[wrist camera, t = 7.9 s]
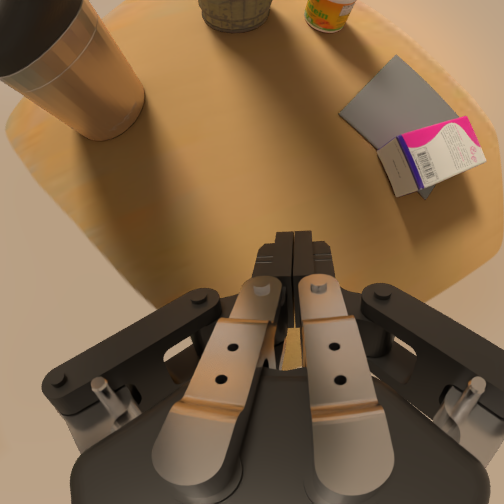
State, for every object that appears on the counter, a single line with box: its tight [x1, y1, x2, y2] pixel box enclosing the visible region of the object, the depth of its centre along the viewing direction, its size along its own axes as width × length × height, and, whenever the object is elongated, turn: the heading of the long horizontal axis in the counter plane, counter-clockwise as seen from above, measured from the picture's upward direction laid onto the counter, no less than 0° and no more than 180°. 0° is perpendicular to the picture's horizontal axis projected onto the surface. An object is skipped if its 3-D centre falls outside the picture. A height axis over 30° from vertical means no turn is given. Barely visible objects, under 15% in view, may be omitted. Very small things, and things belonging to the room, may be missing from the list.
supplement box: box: [377, 116, 486, 197], centre depth 28 cm, size 6×6×12 cm
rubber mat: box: [339, 55, 459, 200], centre depth 31 cm, size 14×14×1 cm
